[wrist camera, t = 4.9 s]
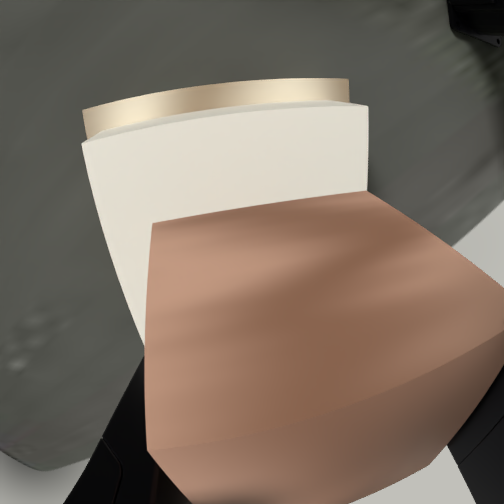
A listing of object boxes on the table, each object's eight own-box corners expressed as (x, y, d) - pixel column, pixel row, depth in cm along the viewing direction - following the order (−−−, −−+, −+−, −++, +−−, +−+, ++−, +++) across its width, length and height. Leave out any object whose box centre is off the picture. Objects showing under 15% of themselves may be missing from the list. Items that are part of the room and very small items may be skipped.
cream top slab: (326, 99, 13) (368, 106, 10) (326, 280, 18) (354, 317, 15) (102, 130, 12) (81, 143, 9) (152, 317, 17) (152, 365, 14)
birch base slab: (317, 79, 16) (348, 79, 13) (320, 261, 22) (343, 289, 19) (99, 106, 14) (82, 110, 11) (144, 296, 20) (142, 332, 17)
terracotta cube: (365, 190, 8) (531, 311, 3) (348, 340, 11) (428, 465, 6) (152, 223, 7) (146, 450, 3) (193, 377, 10) (225, 536, 5)
